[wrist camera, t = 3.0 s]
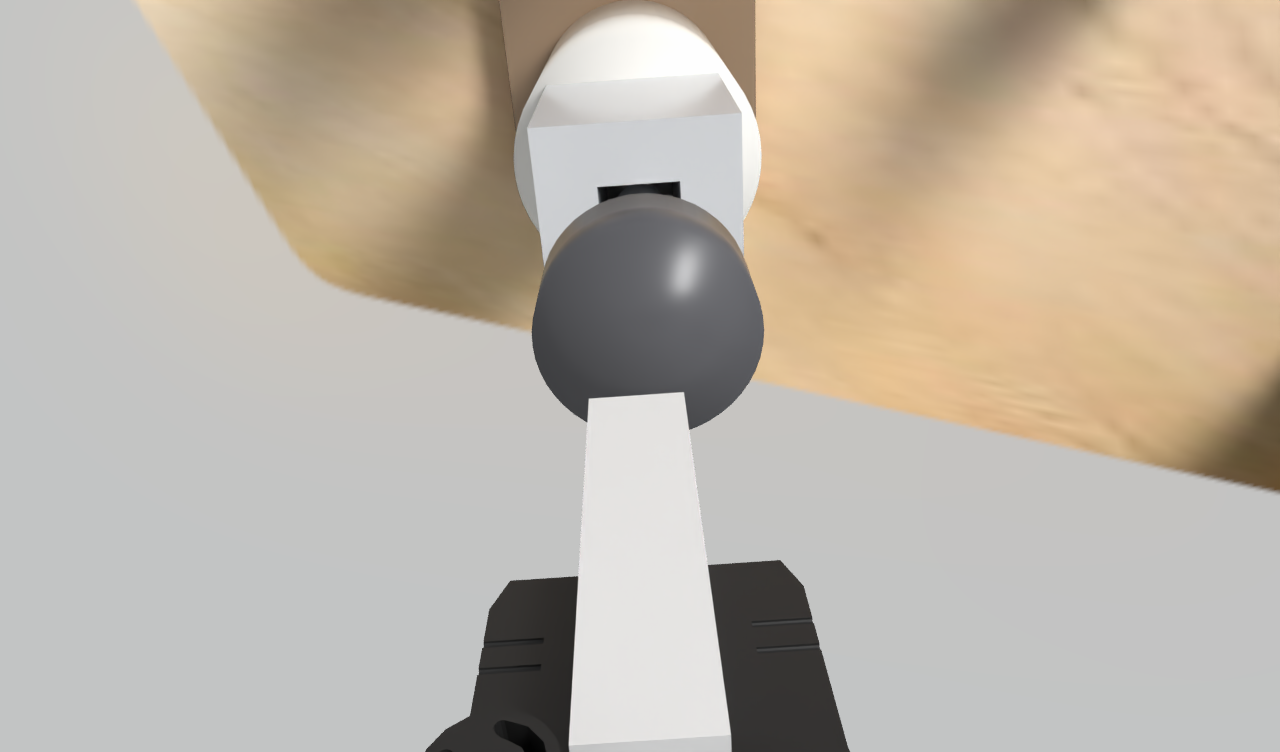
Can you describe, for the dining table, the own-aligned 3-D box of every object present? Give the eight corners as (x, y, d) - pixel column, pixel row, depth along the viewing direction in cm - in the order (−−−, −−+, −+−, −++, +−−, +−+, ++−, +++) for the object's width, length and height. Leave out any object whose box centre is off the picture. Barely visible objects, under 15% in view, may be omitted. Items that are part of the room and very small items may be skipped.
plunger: (723, 279, 29) (764, 429, 20) (568, 290, 29) (546, 444, 20) (719, 121, 26) (763, 218, 18) (550, 133, 26) (517, 234, 18)
